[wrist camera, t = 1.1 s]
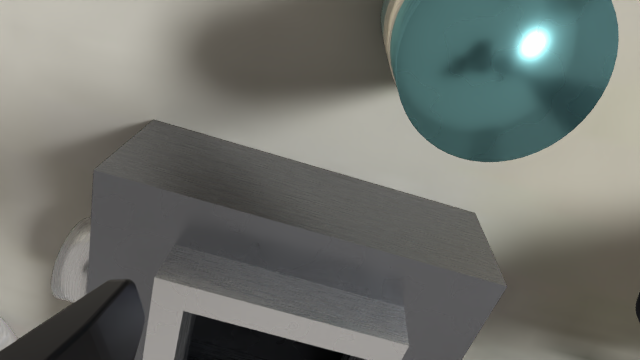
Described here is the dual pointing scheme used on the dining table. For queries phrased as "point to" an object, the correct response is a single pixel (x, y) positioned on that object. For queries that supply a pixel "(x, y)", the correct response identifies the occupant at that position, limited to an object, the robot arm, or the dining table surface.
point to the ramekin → (6, 335)
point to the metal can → (499, 70)
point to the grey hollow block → (276, 257)
